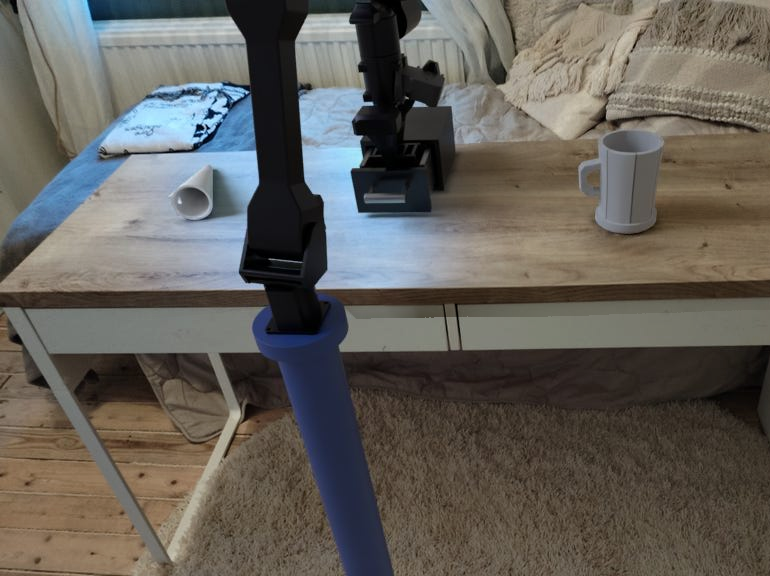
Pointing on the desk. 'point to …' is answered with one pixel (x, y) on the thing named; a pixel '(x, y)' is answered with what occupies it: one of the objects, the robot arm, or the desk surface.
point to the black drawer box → (429, 137)
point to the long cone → (194, 195)
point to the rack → (398, 156)
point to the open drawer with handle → (395, 185)
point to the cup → (625, 180)
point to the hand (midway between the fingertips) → (395, 158)
